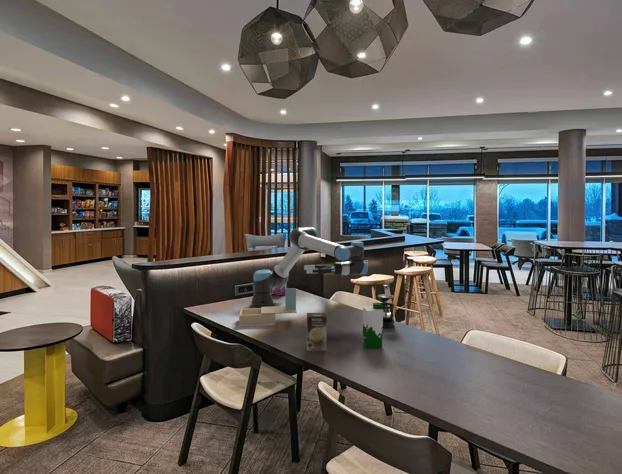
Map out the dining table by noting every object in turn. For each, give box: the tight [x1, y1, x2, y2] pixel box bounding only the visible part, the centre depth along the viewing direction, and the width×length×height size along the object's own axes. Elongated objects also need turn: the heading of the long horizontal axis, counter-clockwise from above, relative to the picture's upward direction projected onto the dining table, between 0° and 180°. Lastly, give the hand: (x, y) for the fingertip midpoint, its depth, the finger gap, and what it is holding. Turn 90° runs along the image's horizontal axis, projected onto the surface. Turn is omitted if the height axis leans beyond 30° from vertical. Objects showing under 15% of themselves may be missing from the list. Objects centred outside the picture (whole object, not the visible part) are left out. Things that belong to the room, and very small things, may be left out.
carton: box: [238, 307, 276, 327], centre depth 211 cm, size 20×14×6 cm
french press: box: [377, 284, 395, 329], centre depth 202 cm, size 12×9×23 cm
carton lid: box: [260, 287, 298, 315], centre depth 211 cm, size 20×14×12 cm
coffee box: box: [305, 312, 328, 352], centre depth 168 cm, size 9×6×16 cm
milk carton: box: [362, 302, 384, 349], centre depth 172 cm, size 9×9×20 cm
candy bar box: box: [271, 283, 287, 296], centre depth 280 cm, size 11×5×16 cm, turn 84°
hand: (305, 269), depth 212 cm, fingers open, 13 cm apart
